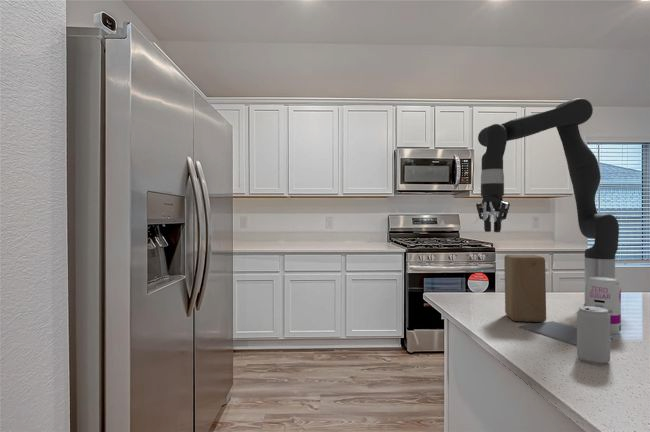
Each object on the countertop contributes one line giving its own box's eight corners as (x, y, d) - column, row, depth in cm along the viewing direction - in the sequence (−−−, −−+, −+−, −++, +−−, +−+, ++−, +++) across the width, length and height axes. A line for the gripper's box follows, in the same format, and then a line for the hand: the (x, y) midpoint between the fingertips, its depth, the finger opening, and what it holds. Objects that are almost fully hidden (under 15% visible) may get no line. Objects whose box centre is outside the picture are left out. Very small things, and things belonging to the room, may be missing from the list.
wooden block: (547, 322, 123) (546, 257, 124) (512, 321, 125) (511, 256, 126) (537, 315, 133) (536, 254, 133) (504, 314, 135) (503, 254, 135)
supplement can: (614, 328, 118) (614, 277, 118) (625, 336, 111) (625, 281, 111) (582, 325, 121) (582, 275, 121) (590, 333, 113) (590, 280, 113)
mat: (553, 322, 125) (553, 321, 125) (612, 339, 109) (612, 337, 109) (518, 326, 120) (518, 325, 120) (575, 345, 104) (575, 344, 104)
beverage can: (570, 356, 96) (570, 305, 96) (596, 355, 96) (596, 304, 96) (590, 366, 90) (590, 312, 89) (617, 365, 90) (617, 311, 90)
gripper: (516, 181, 137) (516, 232, 137) (486, 184, 150) (486, 230, 150) (499, 181, 134) (499, 233, 134) (469, 184, 147) (469, 231, 147)
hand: (492, 231), depth 142 cm, fingers open, 3 cm apart
